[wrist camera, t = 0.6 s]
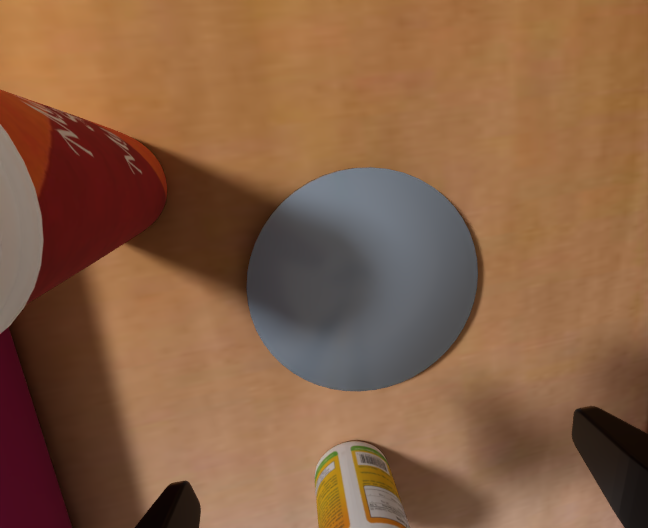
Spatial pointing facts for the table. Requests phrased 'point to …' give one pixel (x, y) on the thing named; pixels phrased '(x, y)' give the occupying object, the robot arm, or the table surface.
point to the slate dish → (362, 279)
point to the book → (24, 454)
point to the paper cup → (66, 197)
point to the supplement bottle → (357, 489)
